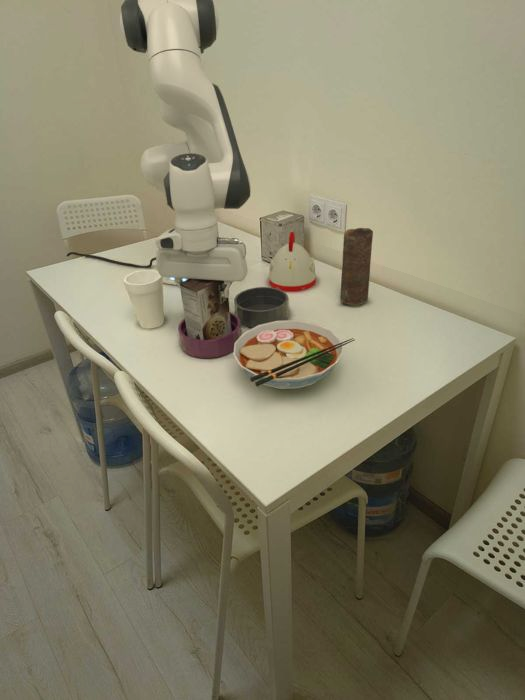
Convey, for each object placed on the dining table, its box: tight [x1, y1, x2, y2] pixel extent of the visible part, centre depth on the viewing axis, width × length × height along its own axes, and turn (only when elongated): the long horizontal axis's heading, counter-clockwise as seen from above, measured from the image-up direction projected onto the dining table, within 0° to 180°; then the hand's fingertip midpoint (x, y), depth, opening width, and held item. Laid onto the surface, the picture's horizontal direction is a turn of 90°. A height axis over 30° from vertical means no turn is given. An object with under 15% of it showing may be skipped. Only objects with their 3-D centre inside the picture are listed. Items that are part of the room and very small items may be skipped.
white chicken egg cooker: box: [268, 231, 317, 293], centre depth 139 cm, size 14×14×15 cm
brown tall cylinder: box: [339, 227, 374, 306], centre depth 125 cm, size 8×7×20 cm
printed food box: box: [179, 279, 232, 340], centre depth 112 cm, size 9×6×16 cm
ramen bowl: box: [232, 319, 356, 390], centre depth 101 cm, size 25×23×8 cm
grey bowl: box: [233, 286, 290, 329], centre depth 125 cm, size 14×14×5 cm
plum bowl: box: [177, 311, 243, 359], centre depth 115 cm, size 15×15×5 cm
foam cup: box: [122, 269, 165, 330], centre depth 123 cm, size 10×9×13 cm
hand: (205, 295), depth 109 cm, fingers closed on printed food box, 8 cm apart
